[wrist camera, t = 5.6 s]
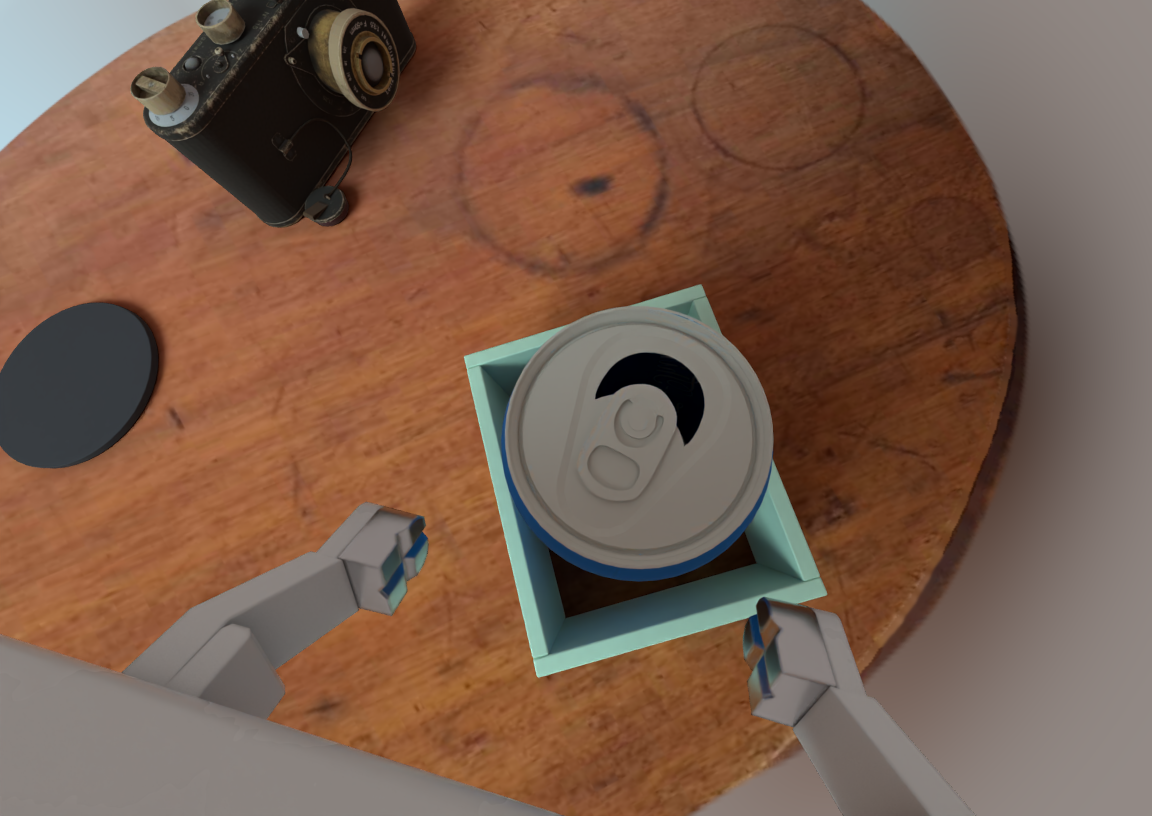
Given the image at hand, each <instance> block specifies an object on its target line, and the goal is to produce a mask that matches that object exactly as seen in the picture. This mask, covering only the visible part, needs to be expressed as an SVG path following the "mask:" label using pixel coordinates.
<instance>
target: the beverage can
mask: <svg viewBox="0 0 1152 816" xmlns="http://www.w3.org/2000/svg"><path fill="white" fill-rule="evenodd" d="M501 456H502V463H503V469H504V475H505V479H506V482H507V485H508V489H509V492H510V494H511V496H512V499H513V501H514V503H515V505H516V508H517V509H518V511H519V513H520V514H521V516H522V517H523V519H524V521H525V522H526V524H527V525H528V526H529V527H530V529H531V530H532V531H533V532H534V534H535V535H536V536H537V537H538V538H539V539H540V540H541V541H542V542H543V543H544V544H545V545H546V546H547V547H548V548H550V549H551V550H552V551H553V552H555V553H556V554H557V555H559V556H560V557H562V558H563V559H564V560H566V561H568V562H570V563H571V564H573V565H575V566H577V567H579V568H581V569H583V570H586V571H588V572H591V573H594V574H596V575H599V576H603V577H608V578H612V579H617V580H625V581H655V580H661V579H666V578H671V577H676V576H679V575H682V574H684V573H687V572H690V571H693V570H695V569H697V568H699V567H701V566H703V565H705V564H707V563H708V562H710V561H712V560H713V559H715V558H716V557H717V556H719V555H720V554H722V553H723V552H724V551H726V550H727V549H728V548H729V547H730V546H731V545H732V544H733V543H734V542H735V541H736V540H737V539H738V538H739V537H740V536H741V535H742V533H743V532H744V531H745V529H746V528H747V527H748V526H749V524H750V523H751V522H752V520H753V518H754V516H755V515H756V513H757V511H758V509H759V507H760V506H761V503H762V501H763V498H764V496H765V493H766V490H767V488H768V483H769V479H770V475H771V470H772V459H773V424H772V419H771V413H770V408H769V404H768V401H767V398H766V395H765V392H764V389H763V387H762V385H761V383H760V381H759V379H758V377H757V375H756V373H755V372H754V370H753V369H752V367H751V366H750V364H749V363H748V361H747V360H746V359H745V357H744V356H743V355H742V354H741V353H740V352H739V350H738V349H737V348H736V347H735V346H734V345H733V344H732V343H731V342H729V341H728V340H727V339H726V338H725V337H724V336H723V335H721V334H720V333H718V332H717V331H716V330H714V329H713V328H711V327H710V326H708V325H706V324H704V323H703V322H701V321H699V320H697V319H695V318H693V317H690V316H687V315H685V314H682V313H680V312H676V311H672V310H668V309H664V308H657V307H649V306H626V307H617V308H612V309H607V310H603V311H599V312H596V313H593V314H590V315H588V316H585V317H583V318H581V319H579V320H577V321H575V322H573V323H571V324H569V325H567V326H566V327H564V328H563V329H561V330H560V331H558V332H557V333H556V334H554V335H553V336H552V337H551V338H550V339H549V340H547V341H546V342H545V343H544V344H543V345H542V346H541V347H540V348H539V350H538V351H537V352H536V353H535V354H534V355H533V356H532V358H531V359H530V361H529V362H528V363H527V365H526V366H525V368H524V369H523V371H522V373H521V375H520V377H519V379H518V381H517V383H516V385H515V387H514V389H513V391H512V394H511V396H510V399H509V402H508V404H507V407H506V411H505V416H504V420H503V426H502V436H501Z"/></svg>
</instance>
